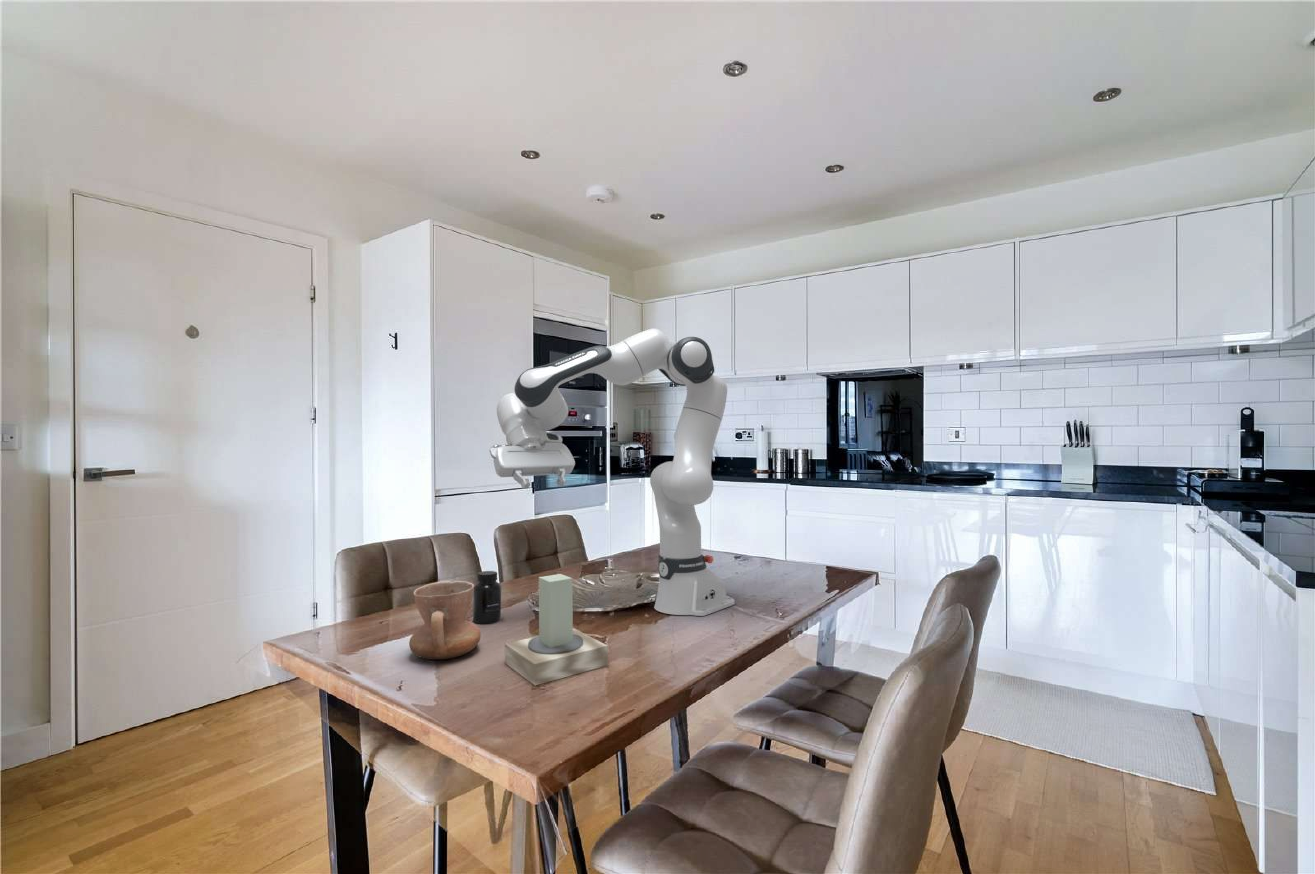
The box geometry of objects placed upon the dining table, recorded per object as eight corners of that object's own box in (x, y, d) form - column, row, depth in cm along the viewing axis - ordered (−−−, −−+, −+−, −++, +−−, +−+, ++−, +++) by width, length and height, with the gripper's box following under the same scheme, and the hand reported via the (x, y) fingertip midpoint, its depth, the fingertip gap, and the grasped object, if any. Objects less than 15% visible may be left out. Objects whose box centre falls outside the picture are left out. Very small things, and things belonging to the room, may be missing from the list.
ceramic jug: (421, 640, 139) (420, 578, 138) (487, 637, 140) (485, 575, 140) (396, 673, 121) (394, 602, 120) (471, 668, 122) (470, 598, 122)
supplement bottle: (493, 625, 149) (493, 576, 149) (467, 623, 151) (467, 575, 151) (505, 616, 156) (505, 570, 156) (481, 615, 157) (480, 569, 157)
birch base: (573, 646, 134) (573, 625, 134) (607, 665, 123) (607, 642, 123) (504, 662, 125) (504, 640, 125) (534, 685, 113) (534, 660, 113)
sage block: (561, 635, 127) (560, 573, 127) (572, 642, 123) (572, 578, 123) (539, 640, 124) (538, 577, 124) (550, 647, 120) (549, 581, 120)
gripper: (490, 436, 146) (507, 479, 139) (566, 435, 159) (585, 475, 151) (484, 454, 150) (500, 497, 142) (558, 452, 162) (576, 491, 155)
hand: (544, 485), depth 147 cm, fingers open, 8 cm apart
